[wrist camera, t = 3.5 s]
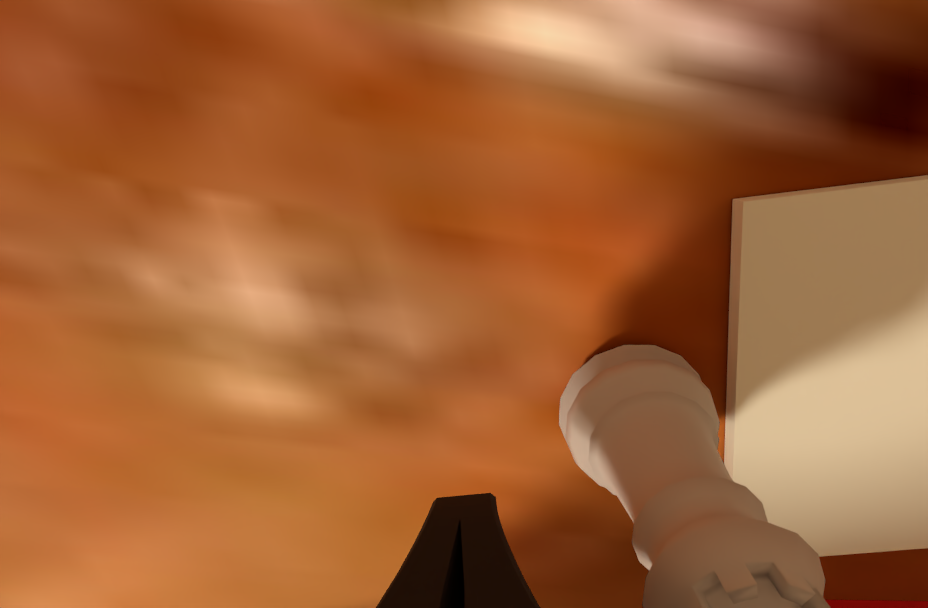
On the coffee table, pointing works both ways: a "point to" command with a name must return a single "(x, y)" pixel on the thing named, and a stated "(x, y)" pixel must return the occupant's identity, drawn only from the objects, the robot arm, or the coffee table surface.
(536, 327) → the coffee table surface
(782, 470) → the paper sticky note
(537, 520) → the coffee table surface
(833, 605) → the puzzle toy
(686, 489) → the rook chess piece
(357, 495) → the coffee table surface
